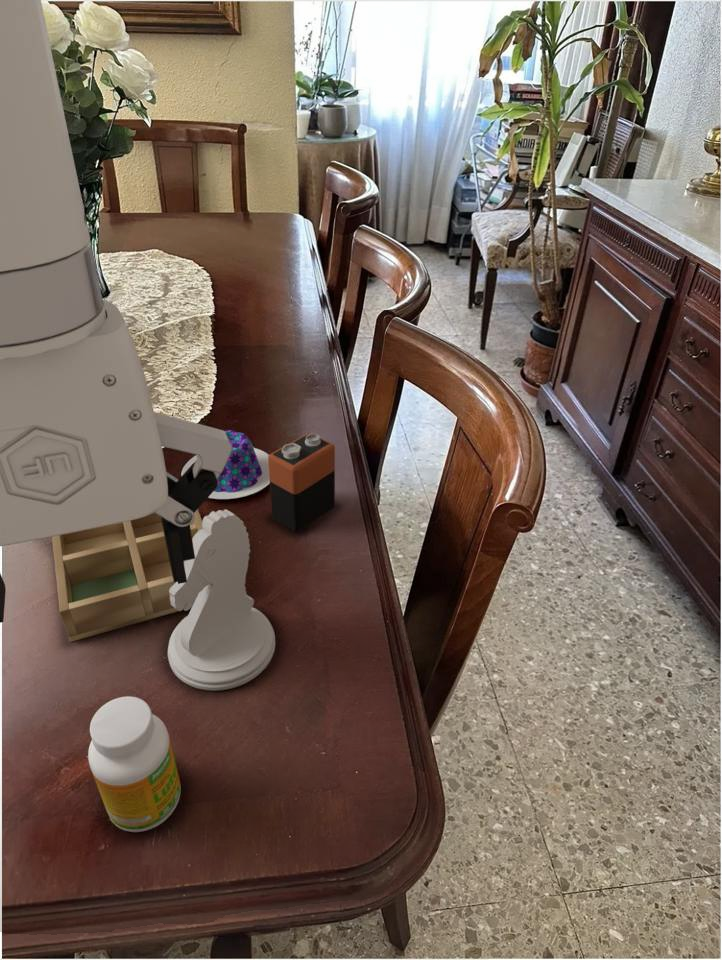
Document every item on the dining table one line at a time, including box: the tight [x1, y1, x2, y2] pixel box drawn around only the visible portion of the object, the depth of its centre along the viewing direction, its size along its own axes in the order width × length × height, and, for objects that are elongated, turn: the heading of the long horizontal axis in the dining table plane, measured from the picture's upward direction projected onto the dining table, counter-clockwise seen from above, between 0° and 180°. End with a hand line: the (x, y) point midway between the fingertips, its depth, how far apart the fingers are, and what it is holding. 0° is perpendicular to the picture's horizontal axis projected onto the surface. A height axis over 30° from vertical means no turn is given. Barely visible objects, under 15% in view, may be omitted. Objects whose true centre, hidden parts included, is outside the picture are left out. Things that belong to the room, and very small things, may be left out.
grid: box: [51, 508, 203, 643], centre depth 69 cm, size 15×15×4 cm
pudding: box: [180, 429, 270, 500], centre depth 83 cm, size 12×12×5 cm
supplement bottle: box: [87, 696, 182, 833], centre depth 47 cm, size 5×5×10 cm
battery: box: [268, 432, 336, 533], centre depth 76 cm, size 4×7×10 cm, turn 140°
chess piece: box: [167, 508, 276, 691], centre depth 57 cm, size 10×10×15 cm
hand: (91, 587), depth 37 cm, fingers open, 9 cm apart
